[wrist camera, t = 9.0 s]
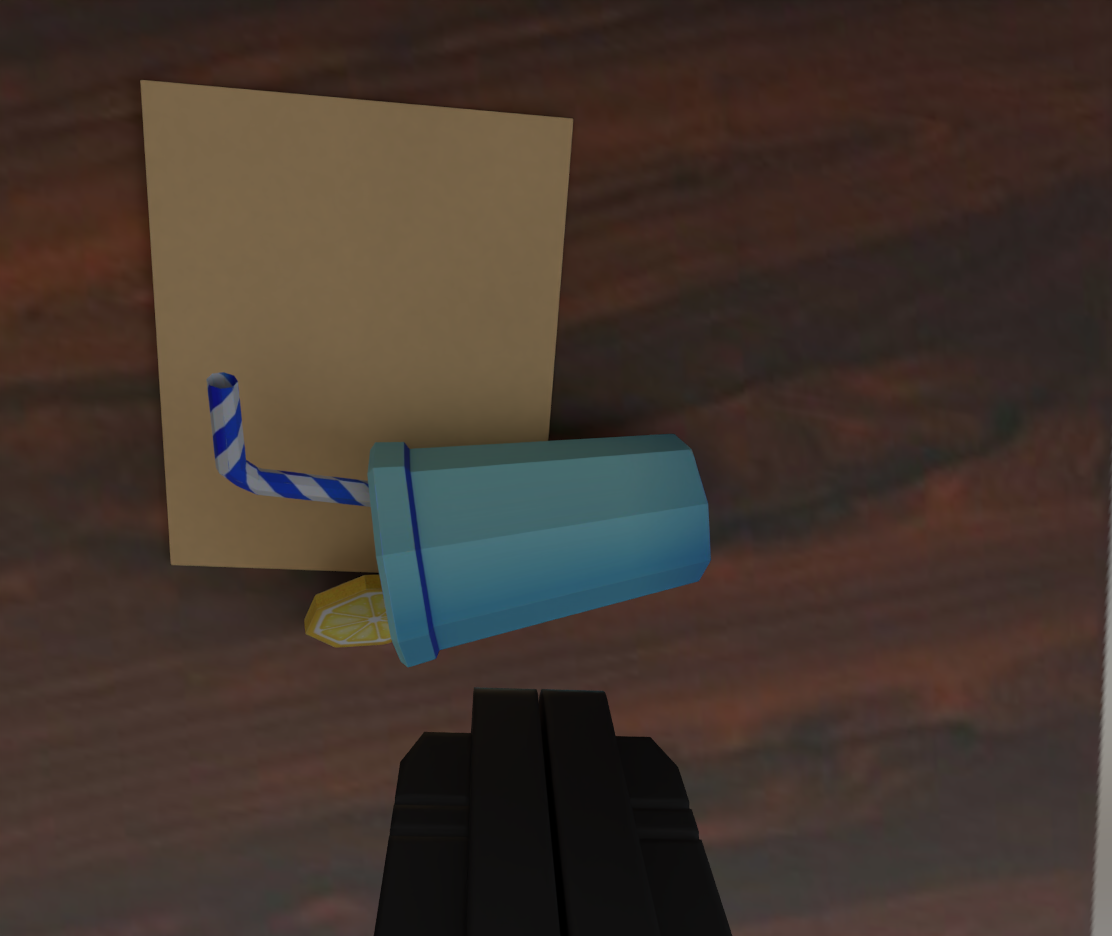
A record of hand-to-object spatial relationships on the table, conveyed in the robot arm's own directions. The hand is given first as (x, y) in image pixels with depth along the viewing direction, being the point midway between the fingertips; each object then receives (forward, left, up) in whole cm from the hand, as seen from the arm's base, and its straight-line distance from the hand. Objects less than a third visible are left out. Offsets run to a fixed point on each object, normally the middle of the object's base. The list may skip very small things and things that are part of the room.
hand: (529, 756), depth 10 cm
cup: (-7, +3, -20) cm, 21 cm away
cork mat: (+5, 0, -23) cm, 24 cm away
